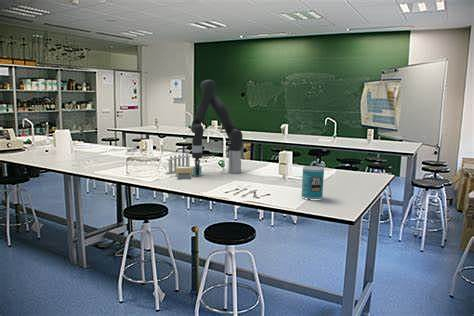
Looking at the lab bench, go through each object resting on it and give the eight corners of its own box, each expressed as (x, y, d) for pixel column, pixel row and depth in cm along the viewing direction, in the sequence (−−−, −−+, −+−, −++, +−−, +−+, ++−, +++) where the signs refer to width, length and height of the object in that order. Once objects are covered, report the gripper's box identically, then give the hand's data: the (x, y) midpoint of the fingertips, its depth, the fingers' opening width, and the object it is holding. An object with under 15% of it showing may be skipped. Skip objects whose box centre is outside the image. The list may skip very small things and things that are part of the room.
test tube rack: (170, 174, 273) (169, 157, 271) (165, 173, 275) (165, 156, 273) (192, 169, 294) (192, 153, 291) (188, 168, 296) (187, 152, 294)
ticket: (192, 174, 274) (192, 166, 272) (192, 176, 269) (192, 167, 268) (175, 174, 272) (175, 166, 271) (175, 176, 267) (175, 168, 266)
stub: (201, 174, 274) (201, 166, 273) (201, 175, 270) (201, 167, 269) (193, 174, 274) (193, 166, 273) (193, 175, 269) (193, 167, 268)
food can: (317, 202, 209) (318, 170, 206) (297, 198, 216) (299, 168, 213) (325, 197, 219) (327, 167, 216) (306, 194, 225) (308, 165, 222)
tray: (190, 176, 268) (190, 172, 268) (191, 179, 259) (191, 175, 259) (177, 176, 267) (177, 173, 266) (177, 179, 258) (177, 175, 257)
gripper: (203, 152, 262) (202, 176, 265) (201, 149, 276) (201, 172, 279) (192, 152, 261) (192, 176, 264) (191, 150, 275) (191, 172, 278)
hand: (197, 174), depth 271 cm, fingers closed on stub, 5 cm apart
